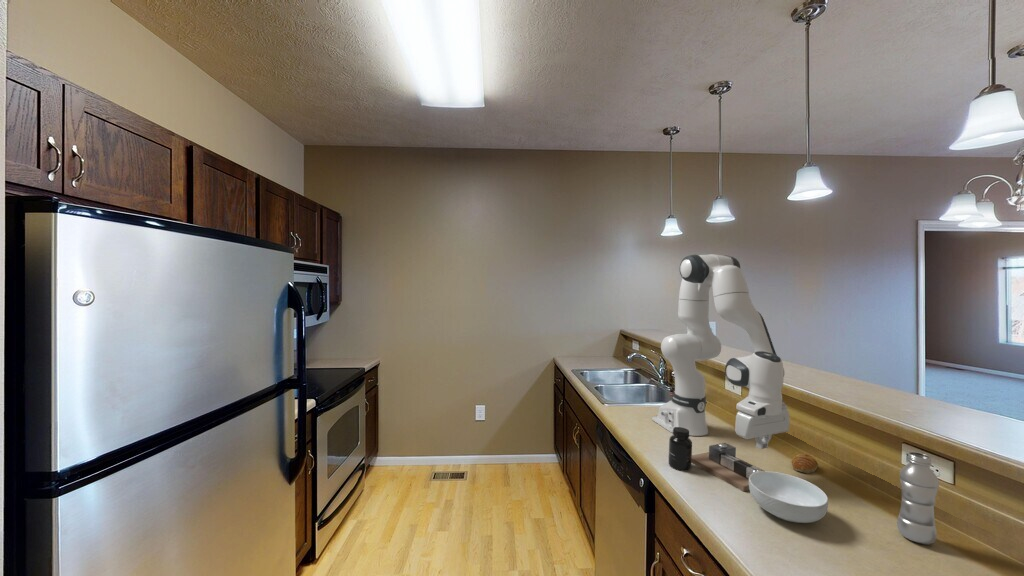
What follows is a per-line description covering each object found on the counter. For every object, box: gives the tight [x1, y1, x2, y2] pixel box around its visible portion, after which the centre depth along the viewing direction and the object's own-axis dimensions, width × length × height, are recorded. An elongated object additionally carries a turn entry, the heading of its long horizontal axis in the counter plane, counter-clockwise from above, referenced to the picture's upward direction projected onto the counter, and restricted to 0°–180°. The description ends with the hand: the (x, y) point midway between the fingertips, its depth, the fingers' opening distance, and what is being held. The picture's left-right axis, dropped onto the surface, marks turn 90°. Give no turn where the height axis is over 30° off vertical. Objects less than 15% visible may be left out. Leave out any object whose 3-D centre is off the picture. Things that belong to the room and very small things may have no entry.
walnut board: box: [691, 451, 765, 492], centre depth 123 cm, size 20×15×2 cm
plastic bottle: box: [896, 451, 940, 546], centre depth 91 cm, size 6×7×20 cm
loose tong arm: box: [724, 454, 761, 472], centre depth 119 cm, size 12×1×3 cm, turn 22°
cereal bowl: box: [749, 470, 829, 524], centre depth 100 cm, size 17×17×7 cm
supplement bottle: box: [668, 427, 693, 471], centre depth 125 cm, size 7×7×12 cm
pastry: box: [791, 453, 819, 474], centre depth 126 cm, size 9×7×4 cm
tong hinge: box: [708, 442, 737, 465], centre depth 127 cm, size 4×7×5 cm, turn 112°
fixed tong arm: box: [721, 455, 757, 479], centre depth 118 cm, size 12×1×3 cm, turn 22°
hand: (761, 448), depth 122 cm, fingers closed
